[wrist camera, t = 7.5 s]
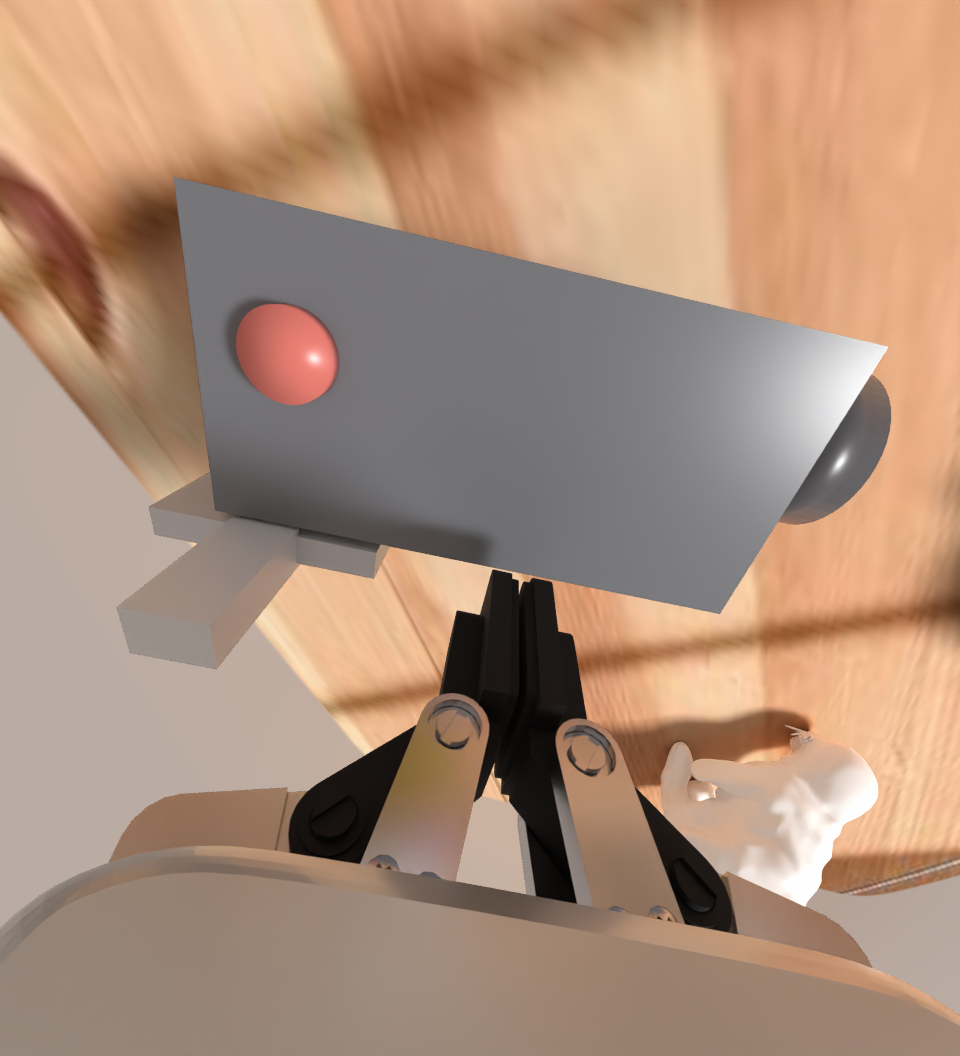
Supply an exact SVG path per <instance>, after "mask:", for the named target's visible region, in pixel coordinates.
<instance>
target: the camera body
mask: <svg viewBox="0 0 960 1056" xmlns="http://www.w3.org/2000/svg"><path fill="white" fill-rule="evenodd" d="M174 183H175V191H176V200H177V208H178V216H179V224H180V232H181V240H182V248H183V256H184V264H185V272H186V280H187V288H188V297H189V305H190V313H191V321H192V329H193V337H194V345H195V353H196V361H197V369H198V377H199V385H200V393H201V402H202V410H203V418H204V426H205V434H206V442H207V450H208V458H209V466H210V474H211V482H212V490H213V499H214V507H215V511H220V512H224V513H229V514H234V515H239V516H244V517H249V518H254V519H259V520H264V521H268V522H273V523H278V524H283V525H288V526H293V527H298V528H303V529H307V530H312V531H317V532H322V533H327V534H332V535H337V536H342V537H347V538H351V539H356V540H361V541H366V542H371V543H376V544H381V545H386V546H390V547H395V548H400V549H405V550H410V551H415V552H420V553H425V554H430V555H434V556H439V557H444V558H449V559H454V560H459V561H464V562H469V563H473V564H478V565H483V566H488V567H493V568H498V569H503V570H508V571H513V572H517V573H522V574H527V575H532V576H537V577H542V578H547V579H552V580H556V581H561V582H566V583H571V584H576V585H581V586H586V587H591V588H596V589H600V590H605V591H610V592H615V593H620V594H625V595H630V596H635V597H639V598H644V599H649V600H654V601H659V602H664V603H669V604H674V605H679V606H683V607H688V608H693V609H698V610H703V611H708V612H713V613H718V614H720V613H721V611H722V610H723V608H724V606H725V605H726V603H727V602H728V600H729V598H730V597H731V595H732V594H733V592H734V591H735V589H736V587H737V586H738V584H739V583H740V581H741V579H742V578H743V576H744V575H745V573H746V572H747V570H748V568H749V567H750V565H751V564H752V562H753V561H754V559H755V557H756V556H757V554H758V553H759V551H760V549H761V548H762V546H763V545H764V543H765V542H766V540H767V538H768V537H769V535H770V534H771V532H772V530H773V529H774V527H775V526H776V524H777V523H778V522H781V523H786V524H795V525H797V524H805V523H809V522H813V521H816V520H818V519H821V518H823V517H825V516H827V515H829V514H831V513H833V512H834V511H836V510H837V509H838V508H840V507H841V506H843V505H844V504H845V503H846V502H847V501H848V500H850V499H851V498H852V497H853V496H854V495H855V494H856V493H857V492H858V491H859V490H860V489H861V487H862V486H863V485H864V483H865V482H866V481H867V480H868V478H869V477H870V475H871V474H872V472H873V471H874V469H875V467H876V466H877V464H878V462H879V460H880V458H881V456H882V453H883V451H884V448H885V446H886V443H887V439H888V435H889V431H890V424H891V406H890V401H889V397H888V395H887V392H886V390H885V388H884V386H883V385H882V383H881V382H880V381H879V380H878V379H877V378H876V377H875V376H873V375H871V374H872V372H873V371H874V369H875V368H876V366H877V364H878V363H879V361H880V360H881V358H882V357H883V355H884V353H885V352H886V350H887V349H888V347H887V346H883V345H878V344H874V343H870V342H866V341H862V340H857V339H853V338H849V337H845V336H841V335H836V334H832V333H828V332H824V331H820V330H815V329H811V328H807V327H803V326H799V325H794V324H790V323H786V322H782V321H777V320H773V319H769V318H765V317H761V316H756V315H752V314H748V313H744V312H740V311H735V310H731V309H727V308H723V307H719V306H714V305H710V304H706V303H702V302H698V301H693V300H689V299H685V298H681V297H677V296H672V295H668V294H664V293H660V292H655V291H651V290H647V289H643V288H639V287H634V286H630V285H626V284H622V283H618V282H613V281H609V280H605V279H601V278H597V277H592V276H588V275H584V274H580V273H576V272H571V271H567V270H563V269H559V268H555V267H550V266H546V265H542V264H538V263H533V262H529V261H525V260H521V259H517V258H512V257H508V256H504V255H500V254H496V253H491V252H487V251H483V250H479V249H475V248H470V247H466V246H462V245H458V244H454V243H449V242H445V241H441V240H437V239H433V238H428V237H424V236H420V235H416V234H411V233H407V232H403V231H399V230H395V229H390V228H386V227H382V226H378V225H374V224H369V223H365V222H361V221H357V220H353V219H348V218H344V217H340V216H336V215H332V214H327V213H323V212H319V211H315V210H311V209H306V208H302V207H298V206H294V205H289V204H285V203H281V202H277V201H273V200H268V199H264V198H260V197H256V196H252V195H247V194H243V193H239V192H235V191H231V190H226V189H222V188H218V187H214V186H210V185H205V184H201V183H197V182H193V181H189V180H184V179H180V178H176V177H174Z"/></svg>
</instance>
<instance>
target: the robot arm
mask: <svg viewBox="0 0 960 1056" xmlns="http://www.w3.org/2000/svg"><path fill="white" fill-rule="evenodd" d="M494 762H495V767H494V775H495V778H501V779H502V782H501V794H505V795H509V802H510V803H511V804H512V806H513V807H514V808H515V810H516V811H517V812H518V832H519V840H520V847H521V855H522V863H523V870H524V879H525V886H526V894H527V895H526V894H521V893H515V892H509V891H504V890H499V889H494V888H488V887H482V886H477V885H472V884H466V883H461V882H455V880H456V876H457V872H458V867H459V863H460V859H461V854H462V850H463V846H464V841H465V837H466V833H467V828H468V824H469V819H470V815H471V811H472V806H473V802H475V801H476V800H477V799H479V798H480V797H481V796H482V794H483V791H484V788H485V786H486V783H487V781H488V778H489V775H490V773H491V770H492V768H493V765H494ZM0 1056H960V1015H959V1014H957V1013H956V1012H954V1011H953V1010H951V1009H950V1008H948V1007H947V1006H945V1005H943V1004H942V1003H940V1002H939V1001H937V1000H936V999H934V998H932V997H930V996H929V995H927V994H925V993H923V992H921V991H919V990H918V989H916V988H914V987H912V986H911V985H909V984H907V983H905V982H903V981H901V980H899V979H897V978H894V977H892V976H890V975H888V974H886V973H884V972H881V971H878V970H876V969H873V968H872V966H871V964H870V962H869V960H868V958H867V956H866V955H865V953H864V952H863V951H862V949H861V948H860V947H859V945H858V944H857V942H856V941H855V940H854V939H853V938H852V937H851V936H850V935H849V934H848V933H847V932H846V931H845V930H844V929H843V928H842V927H841V926H840V925H839V924H837V923H836V922H834V921H832V920H831V919H830V918H828V917H826V916H825V915H823V914H820V913H818V912H816V911H814V910H812V909H809V908H807V907H805V906H803V905H801V904H798V903H796V902H794V901H792V900H789V899H787V898H785V897H783V896H781V895H778V894H776V893H774V892H772V891H770V890H767V889H765V888H763V887H761V886H759V885H756V884H754V883H752V882H750V881H748V880H745V879H743V878H741V877H739V876H737V875H734V874H732V873H730V872H728V871H727V872H726V873H725V874H723V875H722V874H720V873H717V871H716V870H715V869H714V868H713V866H712V865H711V864H710V863H709V862H708V860H707V859H706V858H705V857H704V856H703V855H702V854H701V853H700V852H699V851H698V850H697V849H696V848H695V847H694V846H693V845H692V844H691V843H690V842H689V841H688V840H687V839H686V838H685V837H684V836H683V835H682V834H681V833H680V832H679V831H678V830H677V829H676V828H675V827H674V826H673V825H672V824H671V823H670V822H669V821H668V820H667V819H666V818H665V817H664V816H663V815H662V814H661V813H660V812H659V811H658V810H657V809H656V808H655V807H654V806H653V805H652V804H651V803H650V802H649V801H648V800H647V799H646V798H645V797H644V796H643V795H642V794H641V793H640V792H639V791H638V789H637V788H636V787H635V786H634V784H633V782H632V779H631V776H630V774H629V771H628V768H627V765H626V763H625V760H624V757H623V755H622V752H621V750H620V748H619V746H618V744H617V742H616V741H615V739H614V738H613V737H612V736H611V735H610V733H609V732H607V731H606V730H605V729H604V728H602V727H601V726H600V725H598V724H596V723H594V722H592V721H590V720H587V717H586V711H585V705H584V699H583V693H582V687H581V681H580V675H579V668H578V662H577V656H576V650H575V644H574V639H573V636H572V635H571V634H568V633H563V632H558V625H557V617H556V609H555V601H554V592H553V585H552V582H549V581H545V580H540V579H535V578H532V579H531V580H530V583H529V582H523V584H522V587H521V590H520V593H519V581H518V580H515V579H512V573H507V572H502V571H498V570H492V573H491V576H490V580H489V584H488V587H487V591H486V595H485V598H484V602H483V606H482V610H481V613H480V615H477V614H472V613H467V612H462V611H458V610H457V612H456V616H455V620H454V625H453V629H452V633H451V638H450V643H449V647H448V652H447V657H446V662H445V668H444V673H443V678H442V683H441V689H440V694H439V696H437V697H435V698H434V699H432V700H431V701H430V702H429V703H427V705H426V706H425V708H424V710H423V711H422V713H421V716H420V718H419V721H418V723H417V725H415V726H414V727H412V728H410V729H409V730H407V731H405V732H404V733H402V734H400V735H399V736H397V737H395V738H394V739H392V740H390V741H389V742H387V743H385V744H383V745H382V746H380V747H378V748H377V749H375V750H373V751H372V752H370V753H368V754H367V755H365V756H363V757H362V758H360V759H358V760H357V761H355V762H353V763H352V764H350V765H348V766H347V767H345V768H343V769H342V770H340V771H338V772H336V773H335V774H333V775H332V776H330V777H328V778H326V779H325V780H323V781H321V782H320V783H318V784H316V785H315V786H314V787H313V788H311V789H310V790H309V791H298V792H288V788H287V787H286V788H270V789H253V790H236V791H220V792H204V793H187V794H178V795H174V796H169V797H165V798H163V799H161V800H159V801H157V802H155V803H153V804H151V805H149V806H148V807H146V808H145V809H144V810H143V811H142V812H141V813H140V814H138V815H137V816H136V817H135V818H134V819H133V820H132V821H131V823H130V824H129V826H128V827H127V829H126V830H125V832H124V833H123V834H122V836H121V838H120V840H119V842H118V844H117V846H116V848H115V850H114V852H113V854H112V856H111V858H110V860H109V863H106V864H104V865H101V866H98V867H96V868H94V869H91V870H88V871H86V872H83V873H80V874H78V875H76V876H74V877H72V878H70V879H68V880H66V881H64V882H62V883H59V884H58V885H55V886H54V887H52V888H51V889H49V890H47V891H46V892H45V893H43V894H41V895H39V896H38V897H37V898H35V899H34V900H33V901H32V902H30V903H29V904H28V905H26V906H25V907H24V908H22V909H21V910H20V911H19V912H17V913H16V914H15V915H14V916H13V917H11V918H10V919H9V920H8V921H7V922H6V923H5V924H4V925H3V926H2V927H1V928H0Z"/></svg>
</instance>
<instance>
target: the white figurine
mask: <svg viewBox="0 0 960 1056" xmlns="http://www.w3.org/2000/svg"><path fill="white" fill-rule="evenodd" d="M784 726H787V725H784ZM787 727H789V728H791V729H794V730H796V731H795V732H797V731H798V733H794V734H791V735H798V736H795V737H792V738H791V737H790V738H791V739H790V745H791V748H792V753H791V754H790V755H789V756H786V757H783V758H781V759H779V760H778V761H771V762H766V761H752V762H748V763H744V764H743V763H738V762H734V761H728V760H716V759H698V760H695V761H694V762H693V759H692V755H691V752H690V750H689V748H688V747H687V745H686V744H685V743H683V742H677V743H675V744H674V745H673V746H672V748H671V750H670V752H669V755H668V758H667V761H666V764H665V767H664V769H663V771H662V774H661V788H660V791H661V803H662V808H663V811H664V817H665V818H666V819H667V820H668V821H669V822H670V823H671V824H672V825H673V826H674V827H675V828H676V829H677V830H678V831H679V832H680V833H681V834H682V835H683V836H684V837H685V838H686V839H687V840H688V841H689V842H690V843H691V844H692V845H693V846H694V847H695V848H696V849H697V850H698V851H699V852H700V853H701V854H702V855H703V856H704V857H705V858H706V859H707V860H708V862H709V863H710V864H711V865H712V866H713V868H714V869H715V870H716V871H717V873H720V874H722V875H723V874H725V873H726V872H727V871H728V872H730V873H732V874H734V875H737V876H739V877H741V878H743V879H745V880H748V881H750V882H752V883H754V884H756V885H759V886H761V887H763V888H765V889H767V890H770V891H772V892H774V893H776V894H778V895H781V896H783V897H785V898H787V899H789V900H792V901H794V902H796V903H798V904H801V905H803V906H806V903H807V901H808V900H809V899H810V898H811V896H812V895H813V894H814V893H815V892H816V891H817V889H818V887H819V886H820V884H821V872H822V869H823V867H824V865H825V864H826V863H827V862H828V861H829V860H830V858H831V855H832V846H833V840H834V839H835V838H837V837H838V836H839V834H840V831H841V828H842V826H843V824H845V823H846V822H848V821H850V820H853V819H855V818H857V817H859V816H860V815H862V814H863V813H865V812H866V811H867V810H869V809H870V808H871V807H872V806H873V804H874V803H875V801H876V799H877V796H878V786H877V781H876V778H875V776H874V774H873V772H872V770H871V768H870V767H869V765H868V764H867V763H866V761H865V760H864V759H863V758H862V757H861V756H860V755H859V754H858V753H857V752H856V751H855V750H853V749H852V748H851V747H849V746H848V745H845V744H842V743H838V742H835V741H832V740H830V739H828V738H826V737H823V736H821V735H819V734H817V733H815V732H813V731H810V730H808V731H807V732H806V731H804V730H801V729H797V728H795V727H791V726H787ZM785 732H786V731H785ZM787 732H788V731H787ZM793 732H794V731H793ZM691 776H693V777H694V778H695V779H697V780H693V781H689V779H690V778H691ZM688 781H689V782H688ZM710 783H711V784H713V785H715V786H718V788H717V789H716V791H715V790H714V787H713V786H712V785H711V784H710ZM715 794H716V798H713V797H714V795H715Z"/></svg>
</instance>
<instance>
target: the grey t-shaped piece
mask: <svg viewBox="0 0 960 1056" xmlns="http://www.w3.org/2000/svg"><path fill="white" fill-rule="evenodd" d="M149 510H150V514H151V519H152V524H153V529H154V534H155V535H159V536H165V537H169V538H174V539H179V540H184V541H189V542H194V543H198V544H197V545H195V546H194V547H193V548H192V549H190V550H189V551H188V552H186V553H185V554H184V555H183V556H181V557H180V558H179V559H178V560H176V561H175V562H174V563H173V564H171V565H170V566H168V567H167V568H166V569H165V570H163V571H162V572H161V573H160V574H158V575H157V576H156V577H154V578H153V579H152V580H151V581H149V582H148V583H147V584H145V585H144V586H143V587H142V588H140V589H139V590H138V591H137V592H135V593H134V594H133V595H131V596H130V597H129V598H127V599H126V600H125V601H124V602H122V603H121V604H120V605H119V606H117V611H118V614H119V618H120V621H121V624H122V628H123V631H124V634H125V638H126V641H127V645H128V648H129V652H130V653H132V654H138V655H144V656H148V657H154V658H159V659H165V660H170V661H175V662H180V663H186V664H191V665H196V666H201V667H207V668H212V669H217V668H218V666H219V665H220V664H221V663H222V662H223V660H224V659H225V658H226V657H227V655H228V654H229V653H230V652H231V650H232V649H233V648H234V647H235V645H236V644H237V643H238V642H239V640H240V639H241V637H242V636H243V635H244V634H245V633H246V631H247V630H248V629H249V628H250V626H251V625H252V624H253V623H254V621H255V620H256V619H257V618H258V616H259V615H260V614H261V613H262V611H263V610H264V609H265V608H266V606H267V605H268V604H269V603H270V601H271V600H272V599H273V598H274V596H275V595H276V594H277V592H278V591H279V590H280V589H281V587H282V586H283V585H284V584H285V582H286V581H287V580H288V579H289V577H290V576H291V575H292V574H293V572H294V571H295V570H296V569H297V567H298V566H299V565H300V564H303V565H308V566H313V567H318V568H323V569H328V570H333V571H338V572H343V573H348V574H353V575H358V576H363V577H368V578H373V579H374V577H375V575H376V573H377V571H378V569H379V567H380V565H381V563H382V561H383V559H384V557H385V555H386V553H387V551H388V549H389V547H390V546H386V545H381V544H376V543H371V542H366V541H361V540H356V539H351V538H347V537H342V536H337V535H332V534H327V533H322V532H317V531H312V530H307V529H303V528H298V527H293V526H288V525H283V524H278V523H273V522H268V521H264V520H259V519H254V518H249V517H244V516H239V515H234V514H229V513H224V512H220V511H215V507H214V499H213V490H212V482H211V474H210V472H209V473H207V474H205V475H204V476H202V477H200V478H198V479H197V480H195V481H193V482H191V483H190V484H188V485H186V486H184V487H183V488H181V489H179V490H177V491H176V492H174V493H172V494H170V495H169V496H167V497H165V498H163V499H162V500H160V501H158V502H156V503H155V504H153V505H151V506H149Z"/></svg>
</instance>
